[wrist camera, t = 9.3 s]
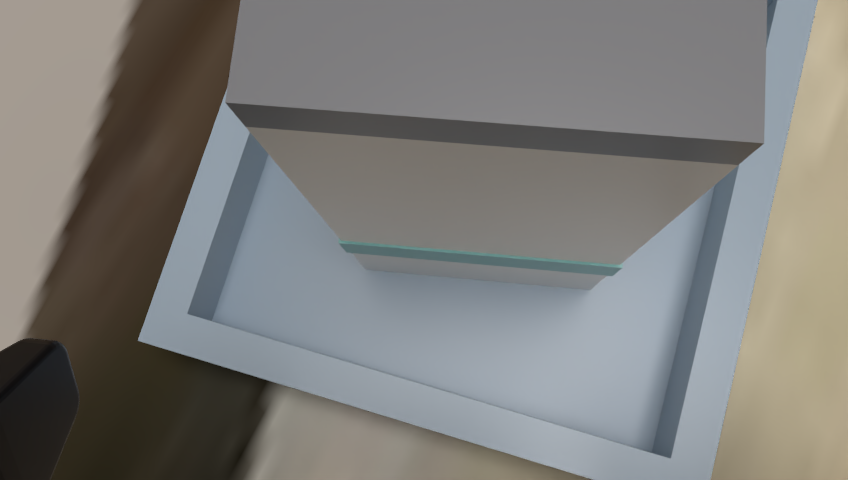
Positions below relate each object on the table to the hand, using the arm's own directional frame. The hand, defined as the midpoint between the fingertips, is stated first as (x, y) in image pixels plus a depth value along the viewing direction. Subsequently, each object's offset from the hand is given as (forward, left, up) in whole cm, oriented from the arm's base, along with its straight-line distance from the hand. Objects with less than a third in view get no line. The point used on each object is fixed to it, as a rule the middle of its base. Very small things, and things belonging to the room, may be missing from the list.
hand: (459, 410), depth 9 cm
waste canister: (+5, -2, -9) cm, 10 cm away
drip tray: (+5, -2, -9) cm, 11 cm away
